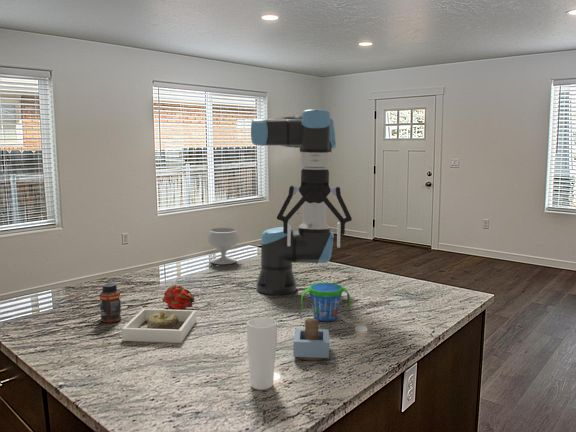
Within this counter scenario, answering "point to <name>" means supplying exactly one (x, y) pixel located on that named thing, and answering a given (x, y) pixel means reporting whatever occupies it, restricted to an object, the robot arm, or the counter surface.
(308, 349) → the collar
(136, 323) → the cream rectangular open frame
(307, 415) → the counter surface
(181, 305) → the dragon fruit
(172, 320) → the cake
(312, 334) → the post
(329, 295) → the snack cup
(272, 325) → the drinking glass
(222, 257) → the chalice
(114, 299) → the supplement bottle
